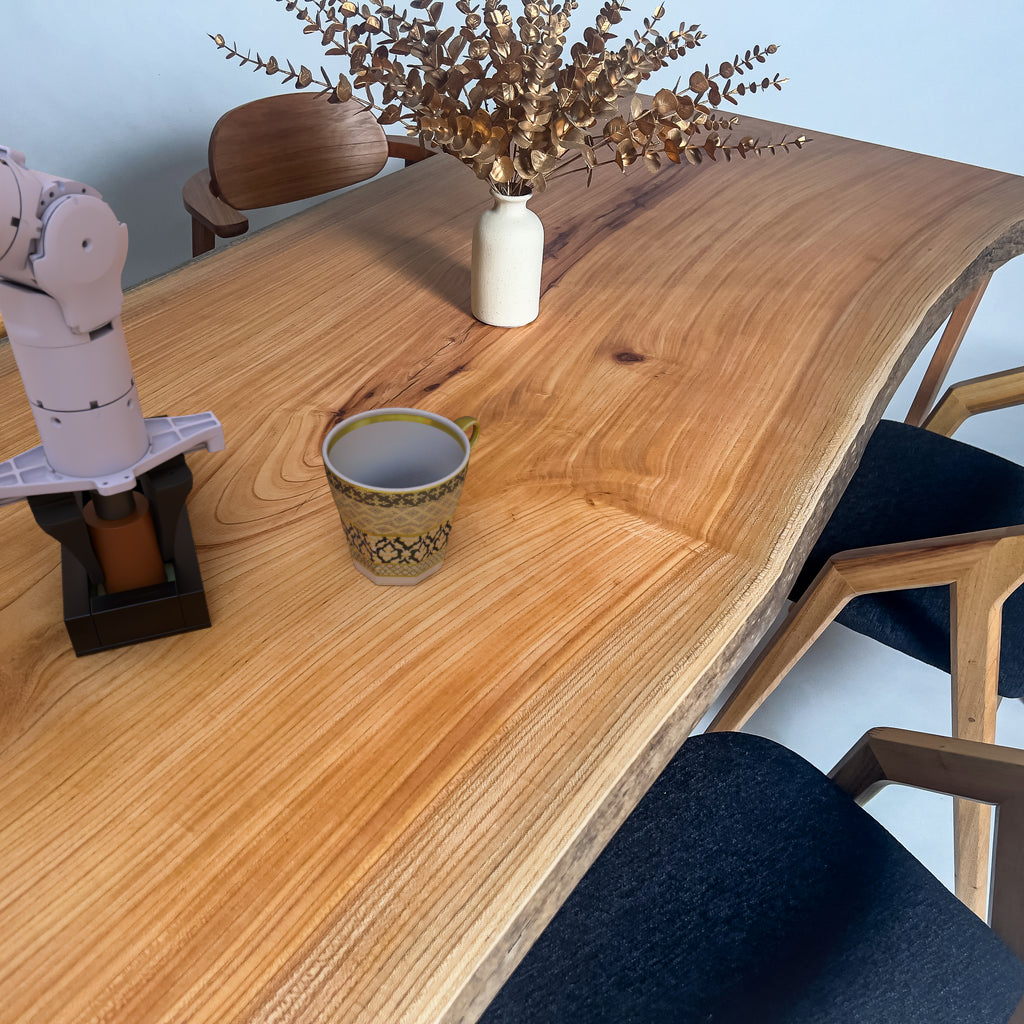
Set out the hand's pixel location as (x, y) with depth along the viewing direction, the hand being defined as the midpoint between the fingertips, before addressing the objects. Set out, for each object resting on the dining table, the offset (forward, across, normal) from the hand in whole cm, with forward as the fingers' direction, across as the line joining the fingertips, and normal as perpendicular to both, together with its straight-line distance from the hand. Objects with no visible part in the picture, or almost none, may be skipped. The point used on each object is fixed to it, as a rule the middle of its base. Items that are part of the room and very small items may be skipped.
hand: (130, 563), depth 60 cm
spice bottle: (+2, 0, 0) cm, 2 cm away
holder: (+3, +1, +7) cm, 8 cm away
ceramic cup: (+4, +19, -5) cm, 20 cm away
